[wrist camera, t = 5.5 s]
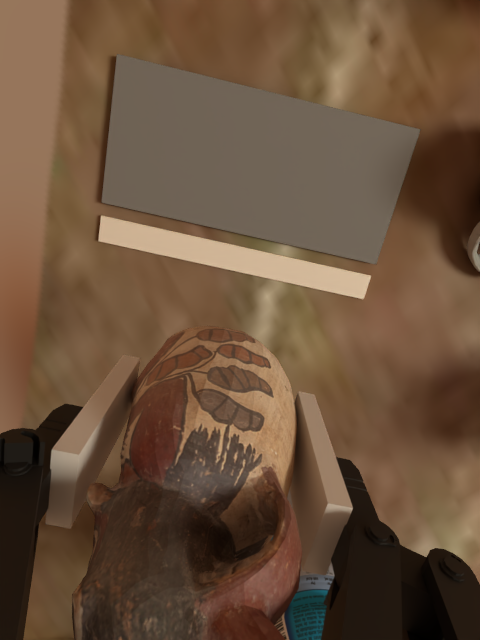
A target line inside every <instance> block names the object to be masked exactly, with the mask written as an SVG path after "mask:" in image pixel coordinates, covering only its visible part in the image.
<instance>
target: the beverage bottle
mask: <svg viewBox="0 0 480 640" xmlns="http://www.w3.org/2000/svg"><path fill="white" fill-rule="evenodd" d="M287 499H288V501H289V503H290V505H291V507H292V509H293V506H292V499H291V492H290V489H289V493H288V496H287ZM273 536H274V535H273ZM272 539H273V537H272ZM272 539H271V540H272ZM334 576H335V575H334V571H333V567H332V562H331V564H330V566H329V569H328V571H327V574H326V575H320V574H315V573H310V572H304V571H302V566H301V571H300V580H299V589H298V590H297V592H296V594H295V596H294V598H293V599H292V601H291V603H290V605H289V607H288V608H287V610H286V611H285V612H284V614H283V615H282V616H281V617H280V618H279V619H278V621H277V622H276V623H275V624H274V626H275V627H276V628H277V629H278V630H279V632H280V633H281V634H282V636H283V637H284V638H285V640H321V636H322V630H323V625H324V619H325V613H326V608H327V606H326V605H324V604H323V603H324V600H325V598H326V595H327V593H328V591H329V588H330V586H331V583H332V581H333V579H334Z"/></svg>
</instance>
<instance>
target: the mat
mask: <svg viewBox="0 0 480 640" xmlns="http://www.w3.org/2000/svg"><path fill="white" fill-rule="evenodd" d="M420 130H421V129H417V128H413V127H409V126H405V125H401V124H397V123H392V122H388V121H384V120H380V119H376V118H372V117H368V116H364V115H360V114H356V113H352V112H348V111H344V110H340V109H336V108H332V107H328V106H324V105H320V104H316V103H312V102H308V101H304V100H300V99H296V98H292V97H288V96H284V95H280V94H276V93H272V92H268V91H264V90H260V89H256V88H252V87H248V86H244V85H240V84H236V83H232V82H228V81H224V80H220V79H216V78H212V77H208V76H204V75H200V74H196V73H192V72H188V71H184V70H180V69H176V68H172V67H168V66H164V65H159V64H155V63H151V62H147V61H143V60H139V59H135V58H131V57H127V56H123V55H119V54H117V58H116V68H115V77H114V87H113V96H112V106H111V116H110V125H109V135H108V145H107V154H106V164H105V173H104V183H103V193H102V202H101V203H106V204H110V205H115V206H119V207H124V208H128V209H132V210H137V211H141V212H146V213H150V214H155V215H159V216H163V217H168V218H172V219H177V220H181V221H186V222H190V223H194V224H199V225H203V226H208V227H212V228H217V229H221V230H226V231H230V232H234V233H239V234H243V235H248V236H252V237H257V238H261V239H265V240H270V241H274V242H279V243H283V244H288V245H292V246H296V247H301V248H305V249H310V250H314V251H319V252H323V253H327V254H332V255H336V256H341V257H345V258H350V259H354V260H359V261H363V262H367V263H372V264H376V263H377V260H378V257H379V254H380V251H381V248H382V245H383V242H384V239H385V236H386V233H387V230H388V226H389V223H390V220H391V217H392V214H393V211H394V208H395V205H396V202H397V199H398V196H399V193H400V190H401V187H402V184H403V181H404V178H405V175H406V172H407V169H408V166H409V163H410V160H411V157H412V154H413V151H414V148H415V145H416V142H417V139H418V136H419V133H420Z"/></svg>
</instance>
